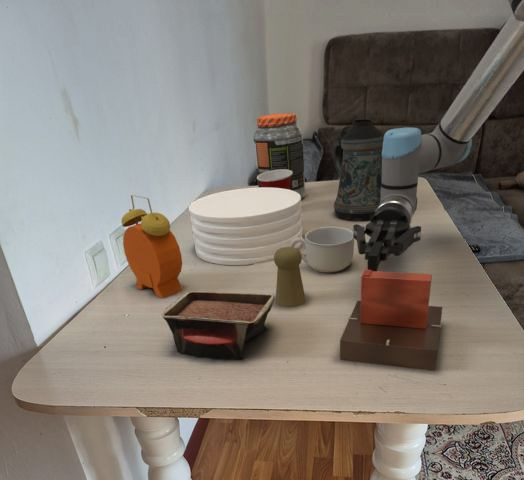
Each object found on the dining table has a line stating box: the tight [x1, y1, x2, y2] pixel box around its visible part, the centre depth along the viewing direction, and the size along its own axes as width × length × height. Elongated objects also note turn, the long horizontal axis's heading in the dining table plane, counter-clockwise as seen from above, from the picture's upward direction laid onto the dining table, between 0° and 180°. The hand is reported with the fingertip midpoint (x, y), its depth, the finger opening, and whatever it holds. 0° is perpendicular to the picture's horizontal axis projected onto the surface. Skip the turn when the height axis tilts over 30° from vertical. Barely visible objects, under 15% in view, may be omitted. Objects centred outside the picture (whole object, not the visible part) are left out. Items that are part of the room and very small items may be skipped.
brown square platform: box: [339, 300, 443, 372], centre depth 77 cm, size 14×14×4 cm
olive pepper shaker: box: [273, 247, 307, 308], centre depth 92 cm, size 6×6×11 cm
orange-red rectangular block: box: [360, 269, 433, 329], centre depth 74 cm, size 10×2×8 cm, turn 70°
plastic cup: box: [256, 169, 293, 190], centre depth 147 cm, size 11×11×12 cm
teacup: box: [290, 225, 355, 274], centre depth 106 cm, size 14×11×8 cm
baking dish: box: [161, 290, 275, 361], centre depth 82 cm, size 14×18×10 cm
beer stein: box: [332, 119, 385, 222], centre depth 135 cm, size 16×19×25 cm
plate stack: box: [188, 187, 304, 266], centre depth 123 cm, size 28×28×12 cm
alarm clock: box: [120, 194, 183, 299], centre depth 102 cm, size 13×6×20 cm, turn 45°
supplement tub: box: [253, 112, 306, 200], centre depth 158 cm, size 16×16×26 cm
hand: (372, 263), depth 79 cm, fingers closed
